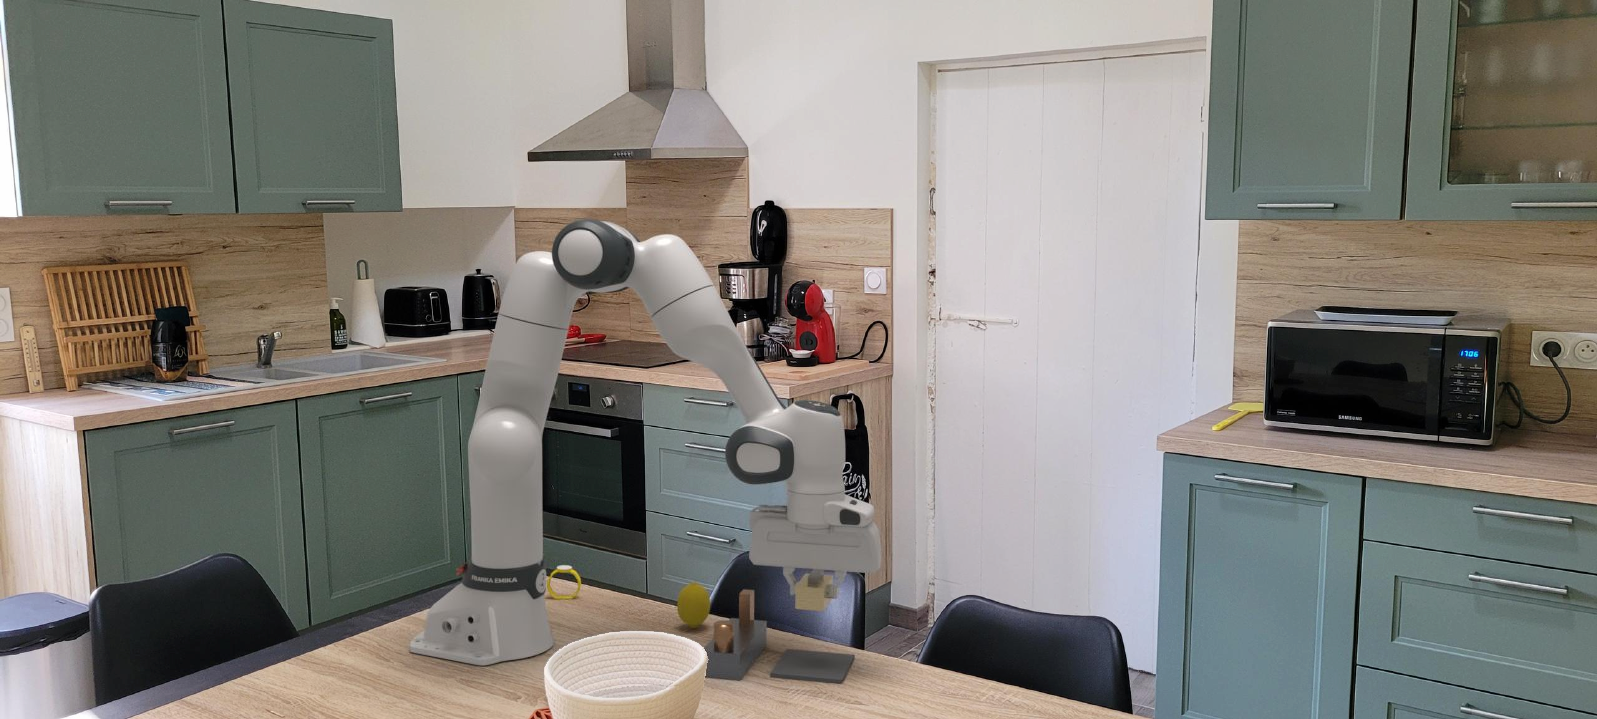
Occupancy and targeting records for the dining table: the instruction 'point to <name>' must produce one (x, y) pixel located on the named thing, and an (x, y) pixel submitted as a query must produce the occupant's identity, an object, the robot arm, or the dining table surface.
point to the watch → (564, 570)
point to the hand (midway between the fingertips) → (814, 596)
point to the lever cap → (813, 591)
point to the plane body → (736, 642)
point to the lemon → (693, 604)
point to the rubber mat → (813, 666)
